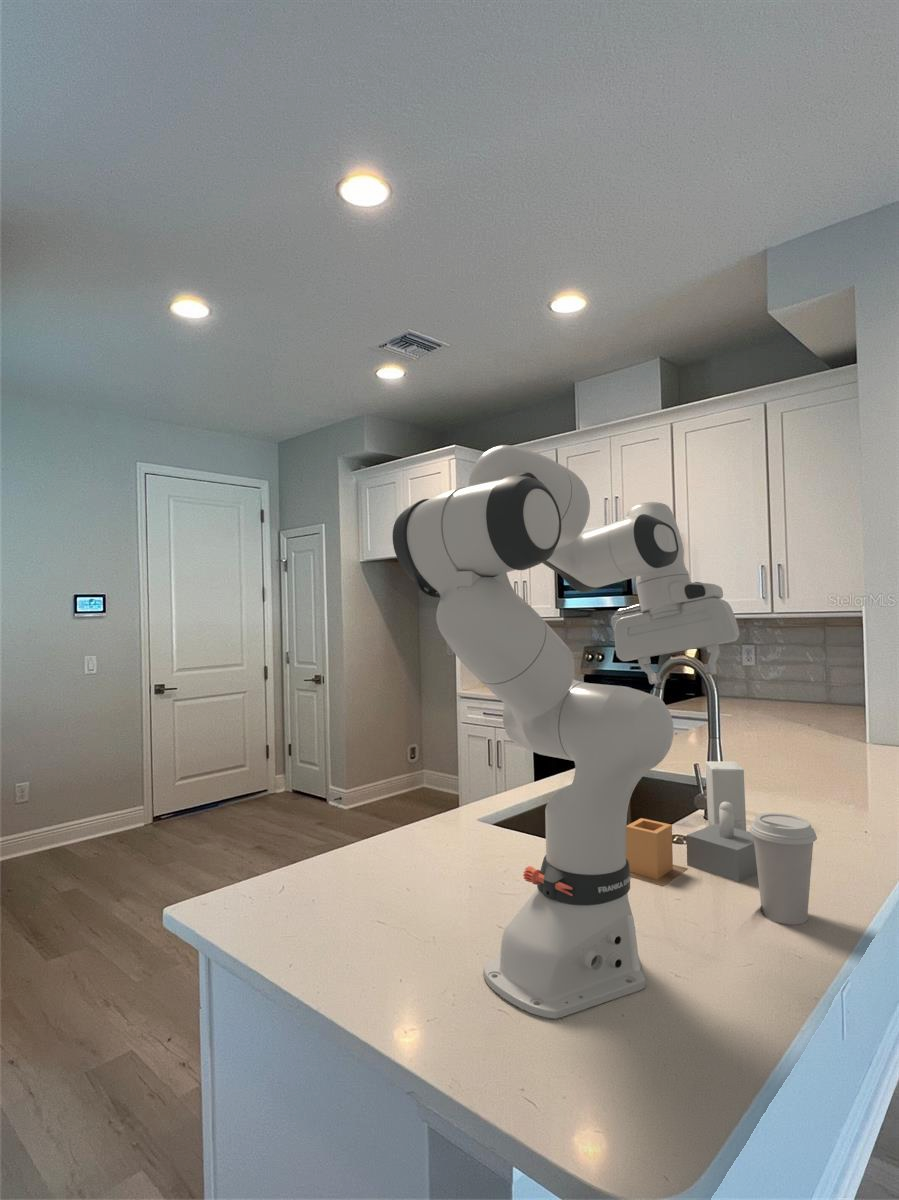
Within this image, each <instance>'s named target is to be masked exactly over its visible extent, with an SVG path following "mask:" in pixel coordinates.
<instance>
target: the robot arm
mask: <svg viewBox="0 0 899 1200" xmlns="http://www.w3.org/2000/svg"><path fill="white" fill-rule="evenodd" d="M469 474H470V475H469V479H468V480H469V481H468V486H463V487H459V488H455V489H451V490H449V491H445V492H442V493H440V494H437V495H436V496H433V497H430V498H425V499H421V500H419V501H416V502H415V503H413V504H412V505H410V506H408V507H407V508H406V509H404V510H403V511H402V512H401V513H400V514H399V515H398V516H397V518H396V519H395V521H394V524H393V528H392V547H393V550H394V553H395V556H396V559H397V561H398V563H399V564H400V565H401V568H402V569H403V571H404V572H405V573H406V575H408V577H409V578H410V579H411V580H412V581H414V582H415V585H416V587H417V589H418V590H419V591H420V592H421V593H423V594H424V595H427V596H430V597H432V598H439V603H438V604H437V609H436V615H435V618H436V619H435V620H436V624H437V628H438V630H439V633H440V634H441V636H442V637H443V639H444V641H445V643H447V645H448V647H450V649H451V651H452V652H453V653H454V654H455V656H456V657H457V658H458V659H459V661H460V662H461V663H462V664H463V665H464V667H465V668H467V670H469V671H470V672H471V674H472V675H474V677H476V678H477V679H478V680H479V681H480V682H481V683H482V684H483V685H484V686H485V688H487V689H489V690H490V692H491V693H492V694H493V695H494V696H496V697H497V698H498V700H500V701H501V702H502V703H503V709H502V723H503V727H504V730H505V733H506V736H507V737H508V738H509V739H510V741H512V743H514V744H516V745H518V746H519V747H522V748H524V749H526V750H529V751H531V752H532V753H535V754H538V755H540V756H541V755H542V756H545V757H546V756H547V757H552V758H558V759H563V760H568V761H573V762H574V768H575V769H574V776H573V780H572V783H571V784H570V785H567V786H565V787H563V788H561V789H559V790H558V791H556V792H555V793H554V794H553V795H552V796H551V797H550V798H549V800H548V802H547V803H546V806H545V809H544V811H545V814H544V815H545V816H544V817H545V855H544V857H543V860H542V863H541V866H540V867H541V868H540V869H536V868H534V867H533V866H532V865H530V866H529V865H528V866H526V868H524V871H523V875H522V876H523V880H525V881H526V882H529V883H531V884H533V885H534V886H535V885H536V890H535V891H534V892H533V893H532V894H531V896H530V897H529V898H528V899H527V901H526V902H525V903H524V905H523V906H522V907H521V908H520V910H518V912H517V913H516V914H515V916H514V917H513V918H512V919H511V921H509V923H508V924H507V925H506V926H505V928H504V930H503V933H502V938H501V945H500V955H498V956H496V957H495V958H494V959H492V960H490V961H489V962H487V963H486V964H485V965H484V966H483V972H482V974H483V979H484V981H485V982H486V984H487V985H488V986H489V987H490V988H491V989H492V990H493V991H494V992H495V993H496V994H497V995H499V996H501V998H503V999H504V1000H506V1001H507V1002H509V1003H511V1004H512V1005H514V1006H516V1007H518V1008H520V1009H522V1010H523V1011H525V1012H528V1013H531V1014H533V1015H536V1016H540V1017H543V1018H547V1019H548V1018H549V1019H560V1018H562V1017H566V1016H570V1015H571V1014H574V1013H577V1012H579V1011H580V1012H581V1011H583V1010H586V1009H589V1008H592V1007H594V1006H598V1005H601V1004H603V1003H606V1002H609V1001H612V1000H615V999H618V998H621V997H624V996H627V995H630V994H633V993H636V992H638V991H641V990H643V989H645V988H646V985H647V984H646V978H645V975H644V973H643V971H642V970H641V968H642V967H641V966H642V963H641V960H640V956H639V950H638V941H637V934H636V932H637V931H636V927H635V919H634V915H633V912H632V908H631V904H630V899H629V894H628V893H629V891H630V889H631V873H630V868H629V861H628V860H627V859H626V826H627V824H628V823H627V819H628V810H629V804H630V801H631V798H632V794H633V792H634V791H635V788H636V786H637V784H638V783H639V782H640V781H641V779H642V777H644V775H645V774H647V773H648V772H650V771H651V770H652V769H654V768H656V767H657V766H658V765H659V764H660V763H661V762H662V761H664V759H665V758H666V756H667V755H668V754H669V752H670V749H671V746H672V744H673V740H674V730H675V729H674V721H673V717H672V714H671V711H670V710H669V708H668V706H667V704H665V702H664V700H662V699H661V698H660V697H659V696H657V695H654V694H651V693H649V692H645V691H642V690H640V689H636V688H632V687H631V686H630V687H629V686H623V685H614V684H612V685H611V684H601V683H592V682H591V683H589V682H584V681H580V680H577V679H574V678H575V658H574V655H573V652H572V651H571V649H570V647H569V646H568V645H567V643H565V642H564V640H562V639H561V637H560V636H559V635H558V634H557V633H556V632H555V631H554V630H553V628H552V627H551V626H550V625H549V624H548V623H547V622H546V621H545V619H543V618H542V616H541V615H540V614H539V613H538V611H536V610H535V609H534V608H533V607H532V606H531V605H530V603H528V602H526V600H524V599H523V598H522V597H521V596H520V595H519V594H517V592H516V591H515V590H514V588H513V586H512V584H511V582H510V580H509V579H510V578H509V576H508V573H509V572H513V571H525V570H529V569H531V568H533V567H536V566H539V565H541V564H543V565H544V566H546V567H547V568H548V569H549V568H550V569H551V570H552V571H553V572H556V573H557V574H558V575H560V576H561V578H562V579H563V580H564V582H565V583H567V584H568V586H569V587H571V588H572V589H575V590H576V591H578V592H580V593H590V592H592V591H594V590H595V591H596V590H597V589H601V588H604V587H605V586H609V585H611V584H615V583H619V582H623V581H626V580H627V581H628V580H630V579H634V578H635V587H636V592H637V597H638V602H639V604H638V603H637V604H635V605H631V606H630V605H629V606H627V607H621V608H619V609H617V610H616V612H614V613H613V614H612V616H611V618H610V622H611V628H612V630H613V633H614V646H615V654H616V657H617V658H618V659H619V660H620V661H622V662H629V661H635V660H637V662H638V665H639V667H640V668H641V669H642V671H644V673H645V674H647V679H648V683H649V684H650V685H653V684H659V683H661V682H662V681H661V678H660V677H661V675H660V672H655V671H654V670H653V669H652V667H651V666H650V664H651V663H652V662H651V661H652V660H651V657H655V656H656V657H657V656H661V655H663V656H664V655H666V654H674V653H678V652H683V651H688V650H696V649H700V648H706V651H707V653H709V654H710V655H709V658H708V662H707V663H705V664H702V665H703V670H704V674H705V676H710V675H716V674H717V673H718V671H717V666H716V663H717V660H718V658H719V655H720V652H721V651H720V646H719V645H721V644H727V643H728V644H729V643H732V642H736V641H737V640H738V639H739V636H740V630H739V625H738V622H737V618H736V616H735V613H734V611H733V609H732V607H731V605H730V604H729V602H728V601H726V600H725V599H722V598H723V597H724V590H723V588H722V587H721V586H720V585H717V584H713V583H707V582H706V583H705V582H701V581H700V582H699V581H694V582H692V581H691V577H690V574H689V571H688V569H687V567H686V566H685V559H684V558H685V557H684V556H685V549H684V546H683V542H682V537H681V533H680V529H679V526H678V523H677V520H676V519H675V516H674V514H673V512H672V509H671V507H670V506H668V505H667V504H665V503H664V502H663V503H662V502H656V501H655V502H651V501H650V502H643V503H640V504H637V505H634V506H633V507H631V508H630V509H629V510H628V511H627V513H626V515H625V516H626V517H624V518H622V519H619V520H617V521H614V522H612V523H608V524H606V525H603V526H600V527H596V528H594V529H591V530H588V531H585V532H583V530H584V529H585V527H586V525H587V523H588V520H589V517H590V511H591V501H590V495H589V491H588V489H587V488H588V487H587V486H586V485H585V482H583V480H582V479H581V478H580V477H579V476H578V474H576V473H575V472H574V471H572V470H571V469H569V468H568V467H567V466H565V465H562V464H560V463H559V462H557V461H555V460H553V459H551V458H549V457H547V456H545V455H543V454H540V453H538V452H535V451H533V450H530V449H528V448H527V449H526V448H523V447H519V446H515V445H509V444H503V445H497V446H494V447H492V448H489V449H488V450H486V451H485V452H483V454H482V455H480V456H479V457H478V459H477V460H476V461H475V463H474V464H473V467H472V469H471V472H470V473H469Z"/></svg>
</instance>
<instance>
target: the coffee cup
mask: <svg viewBox="0 0 899 1200" xmlns="http://www.w3.org/2000/svg"><path fill="white" fill-rule="evenodd" d="M749 832H751V834H753V837H754V846H755V854H756V863H757V872H758V873H757V879H758V889H759V897H760V904H761V905H760V907H761V914H762V915H763V916H764V917H765V918H766V919H768V920H770V921H771V922H774V923H778V924H783V925H788V926H790V925H791V926H793V925H794V926H798V925H803V924H804V923H806V922H807V921H808V914H809V913H808V912H809V903H810V902H809V901H810V887H811V876H812V873H811V872H812V863H813V862H812V861H813V859H812V858H813V849H814V842H816V841H817V840H818V839H817V838H818V837H817V833H816V831H815V829H814V828H813V827H812V824H811V822H810V821H809V820H807V818H804V817H801V816H798V815H794V814H790V813H781V812H765V813H760V814H756V816H755V817H754V820H753V822H752V823H751V825H750V827H749Z"/></svg>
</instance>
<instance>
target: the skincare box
mask: <svg viewBox="0 0 899 1200" xmlns="http://www.w3.org/2000/svg"><path fill="white" fill-rule="evenodd" d="M704 766H705V767H704V768H705V783H706V784H705V785H706V806H707V808H706V809H707V827H709V826H712V825H714V824H717V823H718V824H720V820H719V806H720V804H721V803H722V802H729V803H731V804H732V806H733V809H734V828H736V829H740V830H744V831H747V819H746V818H747V817H746V812H747V811H746V793H745V792H746V791H745V790H746V789H745V771H744V770H745V769H744V768H743V767H742V766H740V765H739V763H738V762H737V761H734V760H731V761H727V760H725V761H718V760H717V761H714V760H713V761H712V760H711V761H710V760H709V761H707V760H706V761H705V765H704Z"/></svg>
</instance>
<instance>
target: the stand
mask: <svg viewBox="0 0 899 1200" xmlns="http://www.w3.org/2000/svg"><path fill="white" fill-rule="evenodd" d="M688 869H689V868H688V867H684V866H681V865H676V864H673V869H672V870H671V871H669V872H668V873H666V874H665V875H663V876H662V877H660V878H659V879H654V878H651V877H647V876H643V875H640V874H636V873H633V872H630V873H631V878H632V879H636V880H639V881H642V882H647V883H650V884H653V885H657V886H660V887H665V886H667V885H668V884H670V882H672V881H673V880H675V879H676V878H677V877H679V876H680V875H682V874H683V873H684V872H686V871H687V870H688Z"/></svg>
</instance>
